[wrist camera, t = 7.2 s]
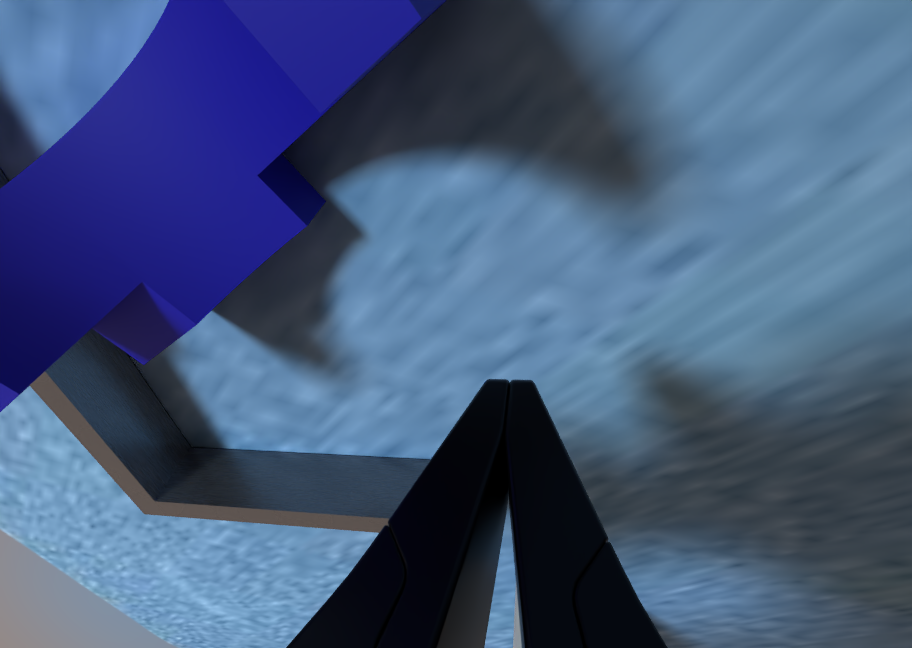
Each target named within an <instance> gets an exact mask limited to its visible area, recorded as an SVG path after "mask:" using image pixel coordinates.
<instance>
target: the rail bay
mask: <svg viewBox="0 0 912 648" xmlns="http://www.w3.org/2000/svg"><path fill="white" fill-rule="evenodd" d="M8 182H9V181H8V180H7V178H6V177H5V176H4V174H3V173H2V171H1V170H0V188H2V187H3V186H4V185H6V184H7V183H8ZM30 386H31V387H32V389H33V390H34V391H35V392H36V393H37V394H38V395H39V396H40V398H41V399H42V400H43V401H44V402H45V403H46V404H47V405H48V407H49V408H50V409H51V410H52V411H53V412H54V413H55V414H56V416H57V417H58V418H59V419H60V420H61V421H62V422H63V423H64V424H65V426H66V427H67V428H68V429H69V430H70V431H71V432H72V433H73V435H74V436H75V437H76V438H77V439H78V440H79V441H80V442H81V444H82V445H83V446H84V447H85V448H86V449H87V450H88V451H89V453H90V454H91V455H92V456H93V457H94V458H95V459H96V460H97V462H98V463H99V464H100V465H101V466H102V467H103V468H104V469H105V470H106V472H107V473H108V474H109V475H110V476H111V477H112V478H113V479H114V481H115V482H116V483H117V484H118V485H119V486H120V487H121V488H122V490H123V491H124V492H125V493H126V494H127V495H128V496H129V497H130V499H131V500H132V501H133V502H134V503H135V504H136V505H137V506H138V507H139V509H140V510H141V511H142V512H143V513H144V514H150V515H162V516H175V517H188V518H200V519H213V520H226V521H238V522H251V523H264V524H276V525H289V526H302V527H314V528H327V529H340V530H352V531H365V532H378V533H380V531H381V530H382V528H383V527H384V526H385V525H388V520H389V519H390V517H391V516H392V514H393V513H394V512H395V510H396V509H397V507H398V506H399V504H400V503H401V502H402V500H403V499H404V497H405V496H406V494H407V493H408V491H409V490H410V489H411V487H412V486H413V484H414V483H415V481H416V480H417V479H418V477H419V476H420V474H421V473H422V471H423V470H424V469H425V467H426V466H427V464H428V463H429V461H430V460H423V459H404V458H384V457H365V456H346V455H326V454H307V453H288V452H268V451H249V450H230V449H210V448H191V447H190V446H189V444H188V443H187V441H186V440H185V438H184V437H183V435H182V434H181V432H180V431H179V430H178V428H177V427H176V425H175V424H174V422H173V421H172V419H171V418H170V416H169V415H168V413H167V412H166V411H165V409H164V408H163V406H162V405H161V403H160V402H159V400H158V399H157V397H156V396H155V395H154V393H153V392H152V390H151V389H150V387H149V386H148V384H147V383H146V381H145V380H144V378H143V377H142V376H141V374H140V373H139V371H138V370H137V368H136V367H135V365H134V364H133V362H132V361H131V359H130V358H129V357H128V355H127V354H126V352H125V351H123V350H122V349H120V348H119V347H117V346H116V345H115V344H113V343H112V342H110V341H109V340H108V339H106V338H105V337H103V336H102V335H101V334H99V333H98V332H96V331H95V330H94V329H91V330H90V331H88V332H87V333H86V334H85V335H84V336H83V337H82V338H81V339H80V340H79V341H78V342H76V343H75V344H74V345H73V346H72V347H71V348H70V349H69V350H68V351H67V352H66V353H64V354H63V355H62V356H61V357H60V358H59V359H58V360H57V361H56V362H55V363H53V364H52V365H51V366H50V367H49V368H48V369H47V370H46V371H45V372H44V373H43V374H41V375H40V376H39V377H38V378H37V379H36V380H35V381H34V382H33V383H32V384H30Z"/></svg>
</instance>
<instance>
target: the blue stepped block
mask: <svg viewBox="0 0 912 648" xmlns="http://www.w3.org/2000/svg"><path fill="white" fill-rule="evenodd" d="M445 1H447V0H169V2H168V4H167V6H166V8H165V10H164V13H163V14H162V16H161V18H160V20H159V21H158V23H157V25H156V27H155V29H154V30H153V32H152V33H151V35H150V36H149V38H148V40H147V41H146V43H145V44H144V46H143V47H142V49H141V50H140V51H139V53H138V54H137V55H136V57H135V58H134V60H133V61H132V62H131V64H130V65H129V66H128V67H127V69H126V70H125V71H124V72H123V74H122V75H121V76H120V77H119V79H118V80H117V81H116V82H115V83H114V84H113V86H112V87H111V88H110V89H109V90H108V91H107V92H106V94H105V95H104V96H103V97H102V98H101V99H100V100H99V101H98V102H97V103H96V104H95V105H94V106H93V108H92V109H91V110H90V111H89V112H88V113H87V114H86V115H85V116H84V117H83V118H82V119H81V120H80V121H79V122H78V123H77V124H76V125H75V126H74V127H73V128H71V129H70V130H69V131H68V132H67V133H66V134H65V135H64V136H63V137H62V138H61V139H60V140H59V141H57V142H56V143H55V144H54V145H53V146H52V147H51V148H50V149H48V150H47V151H46V152H45V153H44V154H43V155H41V156H40V157H39V158H38V159H37V160H36V161H34V162H33V163H32V164H31V165H30V166H28V167H27V168H26V169H25V170H23V171H22V172H21V173H20V174H19V175H17V176H16V177H15V178H13V179H12V180H11V181H9V182H8V183H7V184H6V185H4V186H3V187H2V188H0V412H1V411H2V410H3V409H4V408H5V407H6V406H8V405H9V404H10V403H11V402H12V401H13V400H14V399H15V398H16V397H17V396H18V395H20V394H21V393H22V392H23V391H24V390H25V389H26V388H27V387H28V386H29V385H30V384H32V383H33V382H34V381H35V380H36V379H37V378H38V377H39V376H40V375H41V374H43V373H44V372H45V371H46V370H47V369H48V368H49V367H50V366H51V365H52V364H53V363H55V362H56V361H57V360H58V359H59V358H60V357H61V356H62V355H63V354H64V353H66V352H67V351H68V350H69V349H70V348H71V347H72V346H73V345H74V344H75V343H76V342H78V341H79V340H80V339H81V338H82V337H83V336H84V335H85V334H86V333H87V332H88V331H90V330H91V329H94V330H95V331H96V332H98V333H99V334H101V335H102V336H103V337H105V338H106V339H108V340H109V341H110V342H112V343H113V344H115V345H116V346H117V347H119V348H120V349H122V350H123V351H125V352H126V353H127V354H129V355H130V356H132V357H133V358H134V359H136V360H137V361H139V362H140V363H141V364H143V365H145V364H146V363H147V362H148V361H150V360H151V359H152V358H154V357H155V356H156V355H158V354H159V353H160V352H162V351H163V350H164V349H165V348H167V347H168V346H169V345H171V344H172V343H173V342H175V341H176V340H177V339H179V338H180V337H181V336H182V335H184V334H185V333H186V332H188V331H189V330H190V329H192V328H193V327H194V326H196V325H197V324H198V323H199V322H200V321H201V320H202V319H203V318H204V317H205V316H206V315H207V314H208V313H209V312H210V311H211V310H212V309H213V308H214V307H215V306H216V305H218V304H219V303H220V302H221V301H222V300H223V299H224V298H225V297H226V296H227V295H228V294H229V293H230V292H231V291H232V290H234V289H235V288H236V287H237V286H238V285H239V284H240V283H241V282H242V281H243V280H244V279H245V278H247V277H248V276H249V275H250V274H251V273H252V272H253V271H254V270H256V269H257V268H258V267H259V266H260V265H261V264H262V263H263V262H265V261H266V260H267V259H268V258H269V257H270V256H272V255H273V254H274V253H275V252H276V251H277V250H279V249H280V248H281V247H282V246H283V245H284V244H286V243H287V242H288V241H289V240H291V239H292V238H293V237H294V236H295V235H297V234H298V233H299V232H300V231H302V230H303V229H304V228H305V227H307V226H308V224H309V223H310V222H311V220H312V219H313V218H314V216H315V215H316V214H317V212H318V211H319V210H320V209H321V207H322V206H323V205H324V203H325V202H326V201H325V200H324V199H323V197H322V196H321V195H320V194H319V193H318V192H317V191H316V190H315V189H314V188H313V187H312V186H311V185H310V184H309V182H308V181H307V180H306V179H305V178H304V177H303V176H302V175H301V174H300V173H299V172H298V171H297V170H296V169H295V168H294V166H293V165H292V164H291V163H290V162H289V161H288V160H287V159H286V158H285V157H284V156H283V155H282V153H283V152H284V151H285V150H286V149H287V148H288V147H289V146H290V145H291V144H292V143H293V142H294V141H296V140H297V139H298V138H299V137H300V136H301V135H302V134H303V133H304V132H305V131H306V130H307V129H308V128H310V127H311V126H312V125H313V124H314V123H315V122H316V121H317V120H318V119H319V118H320V117H321V116H322V115H324V114H325V113H326V112H327V111H328V110H329V109H330V108H331V107H332V106H333V105H334V104H335V103H337V102H338V101H339V100H340V99H341V98H342V97H343V96H344V95H345V94H346V93H347V92H348V91H349V90H351V89H352V88H353V87H354V86H355V85H356V84H357V83H358V82H359V81H360V80H361V79H362V78H363V77H365V76H366V75H367V74H368V73H369V72H370V71H371V70H372V69H373V68H374V67H375V66H376V65H378V64H379V63H380V62H381V61H382V60H383V59H384V58H385V57H386V56H387V55H388V54H389V53H390V52H392V51H393V50H394V49H395V48H396V47H397V46H398V45H399V44H400V43H401V42H402V41H403V40H404V39H406V38H407V37H408V36H409V35H410V34H411V33H412V32H413V31H414V30H415V29H416V28H417V27H419V26H420V25H421V24H422V23H423V22H424V21H425V20H426V19H427V18H428V17H429V16H430V15H431V14H433V13H434V12H435V11H436V10H437V9H438V8H439V7H440V6H441V5H442V4H443V3H444V2H445Z"/></svg>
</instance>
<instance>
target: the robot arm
mask: <svg viewBox="0 0 912 648" xmlns="http://www.w3.org/2000/svg"><path fill="white" fill-rule="evenodd" d="M508 495H509V504H510V517H511V529H512V540H513V552H514V563H515V575H516V587H517V598H518V610H519V622H520V633H521V645H522V648H667V646H666V644H665V643H664V641H663V640H662V638H661V636H660V635H659V633H658V631H657V629H656V628H655V626H654V624H653V623H652V621H651V619H650V617H649V616H648V614H647V612H646V611H645V609H644V607H643V606H642V604H641V602H640V600H639V599H638V597H637V595H636V593H635V591H634V589H633V587H632V585H631V583H630V581H629V579H628V577H627V575H626V573H625V571H624V569H623V567H622V565H621V563H620V561H619V559H618V557H617V555H616V553H615V551H614V549H613V547H612V545H611V543H610V542H608V537H607V535H606V532H605V530H604V528H603V526H602V524H601V522H600V520H599V518H598V516H597V514H596V511H595V509H594V507H593V505H592V503H591V501H590V499H589V497H588V495H587V492H586V490H585V488H584V486H583V484H582V482H581V480H580V478H579V476H578V474H577V471H576V469H575V467H574V465H573V463H572V461H571V459H570V457H569V455H568V453H567V450H566V448H565V446H564V444H563V442H562V440H561V438H560V436H559V434H558V431H557V429H556V427H555V425H554V423H553V421H552V419H551V417H550V415H549V413H548V410H547V408H546V406H545V404H544V402H543V400H542V398H541V396H540V394H539V392H538V389H537V387H536V385H535V383H534V382H533V381H532V380H512V381H511V382H509V381H508V380H506V379H488V380H487V381H486V382H485V383H484V384H483V386H482V387H481V388H480V390H479V391H478V393H477V394H476V396H475V397H474V399H473V400H472V401H471V403H470V404H469V406H468V407H467V409H466V410H465V411H464V413H463V414H462V416H461V417H460V419H459V420H458V421H457V423H456V424H455V426H454V427H453V429H452V430H451V431H450V433H449V434H448V436H447V437H446V439H445V440H444V441H443V443H442V444H441V446H440V447H439V449H438V450H437V451H436V453H435V454H434V456H433V457H432V459H431V460H430V461H429V463H428V464H427V466H426V467H425V469H424V470H423V471H422V473H421V474H420V476H419V477H418V479H417V480H416V481H415V483H414V484H413V486H412V487H411V489H410V490H409V491H408V493H407V494H406V496H405V497H404V499H403V500H402V502H401V503H400V504H399V506H398V507H397V509H396V510H395V512H394V513H393V514H392V516H391V517H390V519H389V520H388V525H385V526H384V527H383V528H382V530H381V531H380V533H379V534H378V536H377V537H376V538H375V540H374V541H373V543H372V544H371V546H370V547H369V548H368V550H367V551H366V552H365V554H364V555H363V556H362V558H361V559H360V560H359V562H358V563H357V564H356V566H355V567H354V568H353V570H352V571H351V572H350V574H349V575H348V576H347V577H346V578H345V580H344V581H343V582H342V583H341V584H340V586H339V587H338V588H337V589H336V590H335V592H334V593H333V594H332V595H331V596H330V598H329V599H328V600H327V601H326V602H325V604H324V605H323V606H322V607H321V608H320V609H319V610H318V612H317V613H316V614H315V615H314V616H313V617H312V618H311V620H310V621H309V622H308V623H307V624H306V625H305V627H304V628H303V629H302V630H301V631H300V632H299V633H298V635H297V636H296V637H295V638H294V639H293V640H292V641H291V643H290V644H289V645H288V646H287V647H286V648H484V645H485V639H486V633H487V627H488V621H489V615H490V609H491V603H492V596H493V590H494V584H495V578H496V572H497V566H498V560H499V554H500V548H501V542H502V536H503V530H504V524H505V518H506V512H507V504H508Z"/></svg>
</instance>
